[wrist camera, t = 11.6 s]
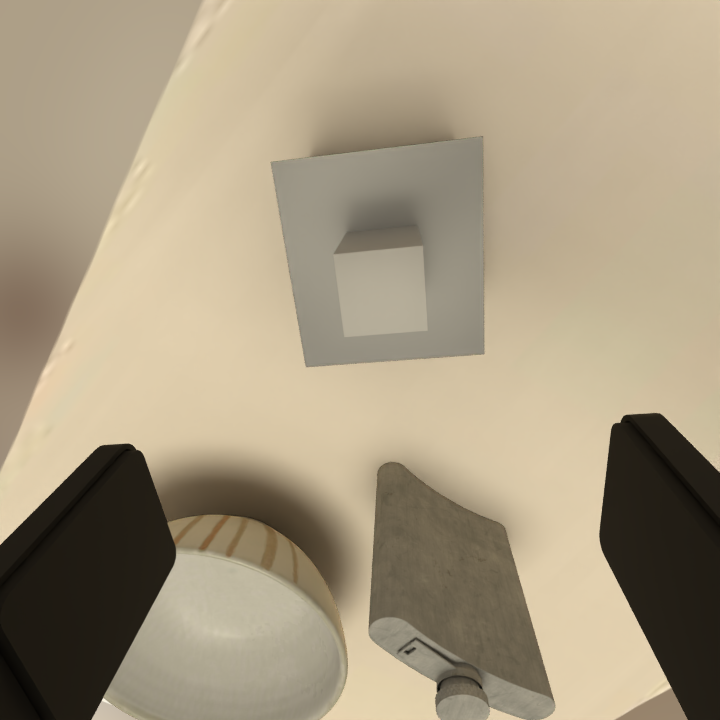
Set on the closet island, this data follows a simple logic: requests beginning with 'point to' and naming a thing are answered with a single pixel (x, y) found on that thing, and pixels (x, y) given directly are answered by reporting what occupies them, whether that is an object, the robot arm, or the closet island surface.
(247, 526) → the decorative bowl
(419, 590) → the hip flask
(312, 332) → the grey stepped block
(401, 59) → the closet island surface
